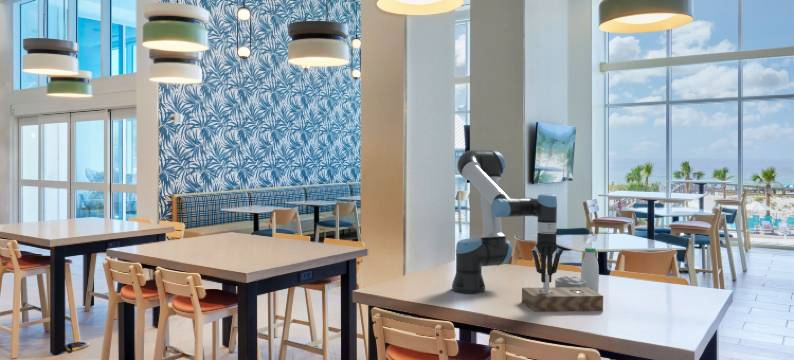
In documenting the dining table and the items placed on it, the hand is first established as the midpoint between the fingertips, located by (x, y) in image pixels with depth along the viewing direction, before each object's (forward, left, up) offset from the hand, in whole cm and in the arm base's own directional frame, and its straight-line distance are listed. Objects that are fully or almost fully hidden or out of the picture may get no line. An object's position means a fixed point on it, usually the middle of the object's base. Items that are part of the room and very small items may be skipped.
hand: (546, 290), depth 233 cm
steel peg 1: (0, 0, -6) cm, 6 cm away
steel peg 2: (+13, 0, -7) cm, 15 cm away
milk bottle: (+29, +26, -7) cm, 40 cm away
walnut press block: (+6, 0, -7) cm, 9 cm away
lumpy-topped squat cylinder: (+16, +17, -7) cm, 24 cm away
